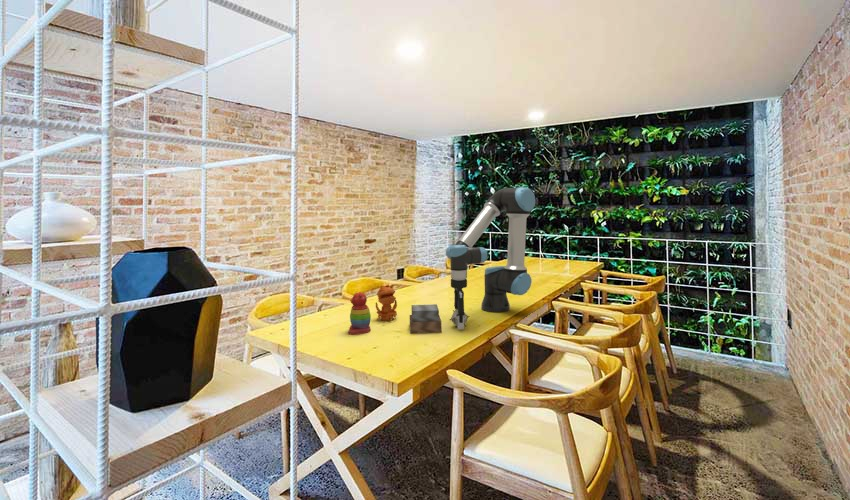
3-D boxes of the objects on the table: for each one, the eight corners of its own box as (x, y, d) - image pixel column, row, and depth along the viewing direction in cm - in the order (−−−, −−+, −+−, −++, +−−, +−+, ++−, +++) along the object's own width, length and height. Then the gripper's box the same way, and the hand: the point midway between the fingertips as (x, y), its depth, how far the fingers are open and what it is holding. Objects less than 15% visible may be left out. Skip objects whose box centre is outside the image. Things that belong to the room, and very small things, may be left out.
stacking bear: (349, 327, 205) (348, 290, 203) (371, 327, 206) (370, 290, 204) (347, 334, 194) (346, 295, 192) (370, 334, 195) (369, 295, 193)
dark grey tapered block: (438, 324, 208) (438, 303, 207) (441, 332, 196) (441, 310, 194) (409, 325, 208) (409, 304, 206) (410, 333, 195) (409, 311, 194)
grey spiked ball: (462, 335, 202) (468, 321, 196) (445, 328, 204) (450, 314, 197) (468, 321, 209) (473, 308, 202) (451, 314, 210) (456, 301, 203)
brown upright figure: (381, 323, 211) (380, 287, 209) (372, 318, 221) (371, 283, 219) (401, 320, 216) (401, 284, 214) (393, 315, 226) (392, 281, 224)
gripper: (448, 274, 211) (448, 319, 214) (453, 283, 190) (454, 333, 192) (463, 274, 212) (463, 319, 215) (470, 283, 190) (471, 332, 193)
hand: (459, 325), depth 204 cm, fingers closed on grey spiked ball, 9 cm apart
